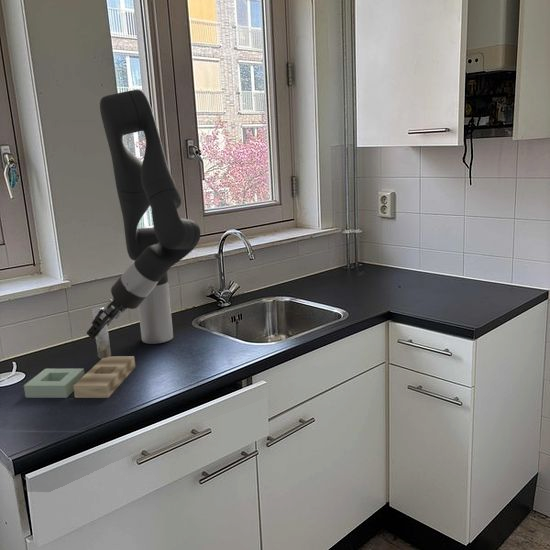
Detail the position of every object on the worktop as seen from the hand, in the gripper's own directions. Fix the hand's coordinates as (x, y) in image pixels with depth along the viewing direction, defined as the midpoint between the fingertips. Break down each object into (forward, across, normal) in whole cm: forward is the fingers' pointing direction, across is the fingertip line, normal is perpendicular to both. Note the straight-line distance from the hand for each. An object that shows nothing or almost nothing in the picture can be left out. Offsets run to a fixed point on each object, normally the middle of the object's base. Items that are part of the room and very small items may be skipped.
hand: (93, 333), depth 134 cm
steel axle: (+3, 0, +6) cm, 6 cm away
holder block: (+15, +5, +3) cm, 16 cm away
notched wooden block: (+7, 0, +10) cm, 13 cm away
